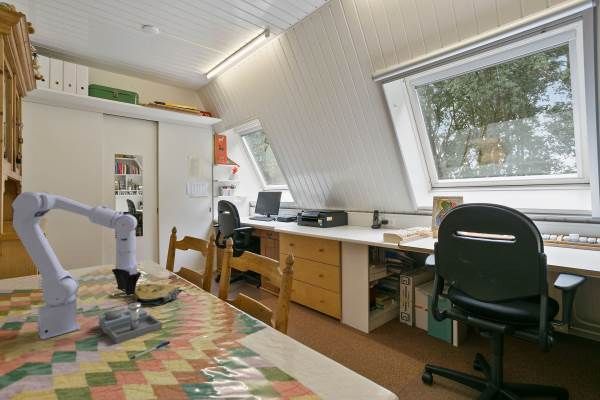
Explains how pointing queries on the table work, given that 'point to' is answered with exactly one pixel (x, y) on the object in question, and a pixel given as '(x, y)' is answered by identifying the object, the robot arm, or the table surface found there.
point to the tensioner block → (117, 318)
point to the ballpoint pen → (151, 349)
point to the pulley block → (154, 294)
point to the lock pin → (134, 315)
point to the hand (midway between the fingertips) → (126, 291)
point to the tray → (123, 330)
